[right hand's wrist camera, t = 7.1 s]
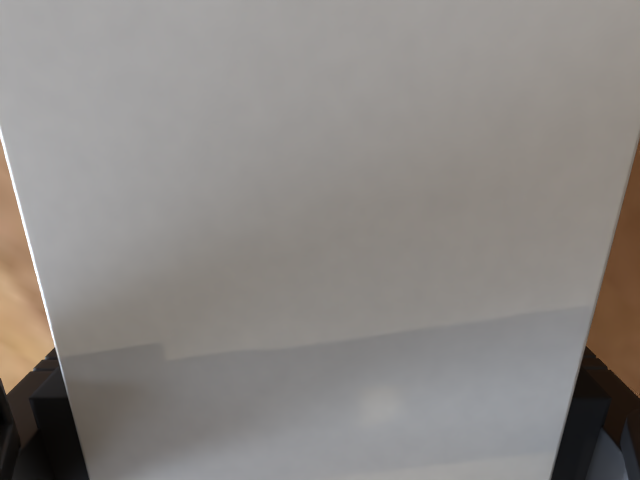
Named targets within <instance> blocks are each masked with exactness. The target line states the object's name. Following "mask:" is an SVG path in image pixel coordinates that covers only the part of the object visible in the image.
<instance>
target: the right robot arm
mask: <svg viewBox="0 0 640 480" xmlns="http://www.w3.org/2000/svg"><path fill="white" fill-rule="evenodd" d="M0 480H89V476H88V472H87V468H86V464H85V460H84V456H83V453H82V449H81V445H80V441H79V437H78V433H77V430H76V426H75V422H74V418H73V414H72V410H71V406H70V403H69V399H68V395H67V391H66V387H65V383H64V380H63V376H62V372H61V368H60V364H59V360H58V356H57V353H56V349H55V348H54V349H53V350H52V351H51V352H50V353H49V354H48V355H47V356H46V357H45V360H42V361H41V362H40V363H39V364H38V365H36V366H35V367H34V368H33V371H30V372H29V373H28V374H27V375H26V376H25V377H24V378H23V379H22V380H21V381H20V382H19V383H18V384H17V385H16V386H15V387H14V388H13V389H12V390H11V391H10V392H9V393H8V394H7V395H6V393H5V390H4V387H3V384H2V381H1V378H0ZM551 480H640V399H639V398H638V397H637V396H636V395H635V394H634V393H633V392H632V391H631V390H630V389H629V388H628V387H627V386H626V385H625V384H624V383H623V382H622V381H621V380H620V379H619V378H618V377H617V376H616V375H615V374H614V373H613V372H612V371H611V370H608V369H607V366H606V365H605V364H604V363H603V362H602V361H601V360H600V359H599V358H596V355H595V354H594V353H593V352H592V351H591V350H590V349H588V348H587V347H586V346H585V350H584V354H583V358H582V362H581V366H580V369H579V373H578V377H577V381H576V385H575V389H574V393H573V396H572V400H571V404H570V408H569V412H568V416H567V419H566V423H565V427H564V431H563V435H562V439H561V443H560V446H559V450H558V454H557V458H556V462H555V466H554V469H553V473H552V477H551Z"/></svg>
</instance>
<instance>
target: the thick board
mask: <svg viewBox="0 0 640 480" xmlns="http://www.w3.org/2000/svg"><path fill="white" fill-rule="evenodd" d="M0 137H1V141H2V145H3V149H4V153H5V156H6V160H7V164H8V168H9V172H10V176H11V179H12V183H13V187H14V191H15V195H16V199H17V203H18V206H19V210H20V214H21V218H22V222H23V226H24V229H25V233H26V237H27V241H28V245H29V249H30V253H31V256H32V260H33V264H34V268H35V272H36V276H37V279H38V283H39V287H40V291H41V295H42V299H43V303H44V306H45V310H46V314H47V318H48V322H49V326H50V330H51V333H52V337H53V341H54V345H55V349H56V353H57V356H58V360H59V364H60V368H61V372H62V376H63V380H64V383H65V387H66V391H67V395H68V399H69V403H70V406H71V410H72V414H73V418H74V422H75V426H76V430H77V433H78V437H79V441H80V445H81V449H82V453H83V456H84V460H85V464H86V468H87V472H88V476H89V480H551V477H552V473H553V469H554V466H555V462H556V458H557V454H558V450H559V446H560V443H561V439H562V435H563V431H564V427H565V423H566V419H567V416H568V412H569V408H570V404H571V400H572V396H573V393H574V389H575V385H576V381H577V377H578V373H579V369H580V366H581V362H582V358H583V354H584V350H585V346H586V343H587V339H588V335H589V331H590V327H591V323H592V319H593V316H594V312H595V308H596V304H597V300H598V296H599V292H600V289H601V285H602V281H603V277H604V273H605V269H606V266H607V262H608V258H609V254H610V250H611V246H612V242H613V239H614V235H615V231H616V227H617V223H618V219H619V216H620V212H621V208H622V204H623V200H624V196H625V192H626V189H627V185H628V181H629V177H630V173H631V169H632V166H633V162H634V158H635V154H636V150H637V146H638V142H639V139H640V0H0Z"/></svg>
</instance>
